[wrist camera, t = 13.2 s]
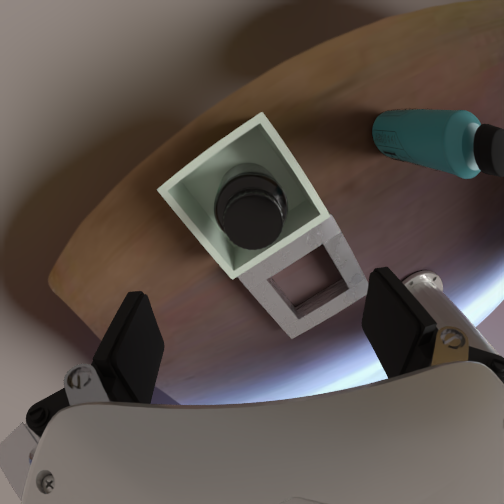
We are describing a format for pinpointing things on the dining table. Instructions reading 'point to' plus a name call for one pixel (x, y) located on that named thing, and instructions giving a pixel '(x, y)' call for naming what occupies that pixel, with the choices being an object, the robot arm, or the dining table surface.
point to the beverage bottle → (441, 141)
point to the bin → (208, 180)
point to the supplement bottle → (250, 206)
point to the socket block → (323, 302)
